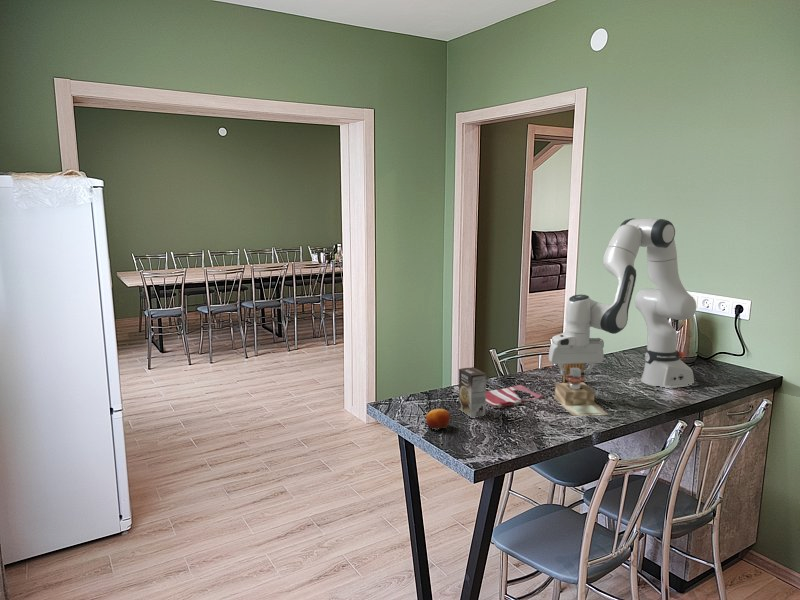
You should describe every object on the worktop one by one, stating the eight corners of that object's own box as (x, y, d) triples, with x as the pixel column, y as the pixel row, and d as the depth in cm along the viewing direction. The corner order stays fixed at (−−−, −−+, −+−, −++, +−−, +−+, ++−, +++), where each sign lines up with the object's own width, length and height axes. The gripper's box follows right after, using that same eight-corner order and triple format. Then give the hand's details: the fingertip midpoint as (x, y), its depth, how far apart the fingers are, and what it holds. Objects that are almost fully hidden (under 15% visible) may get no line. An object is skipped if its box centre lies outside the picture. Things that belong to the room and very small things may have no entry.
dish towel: (545, 401, 229) (545, 395, 229) (494, 411, 219) (494, 404, 219) (518, 389, 244) (518, 383, 244) (469, 397, 234) (470, 391, 234)
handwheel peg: (579, 396, 230) (581, 365, 228) (586, 402, 223) (588, 371, 221) (562, 397, 230) (563, 366, 227) (568, 403, 223) (569, 371, 220)
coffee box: (457, 411, 218) (458, 368, 215) (472, 408, 221) (473, 366, 218) (470, 419, 210) (471, 375, 207) (486, 416, 213) (487, 373, 210)
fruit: (435, 432, 195) (429, 408, 198) (426, 436, 202) (421, 413, 205) (457, 428, 199) (451, 404, 201) (447, 432, 205) (441, 409, 208)
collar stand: (584, 396, 233) (585, 381, 232) (608, 417, 211) (609, 400, 210) (552, 397, 232) (552, 382, 231) (572, 418, 210) (573, 402, 209)
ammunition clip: (580, 382, 250) (582, 355, 248) (584, 384, 248) (585, 356, 246) (561, 386, 245) (562, 358, 243) (564, 388, 244) (565, 359, 241)
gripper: (600, 335, 226) (598, 370, 229) (547, 337, 225) (546, 372, 227) (607, 339, 220) (605, 375, 222) (553, 341, 218) (552, 377, 221)
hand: (575, 374), depth 225 cm, fingers open, 8 cm apart
